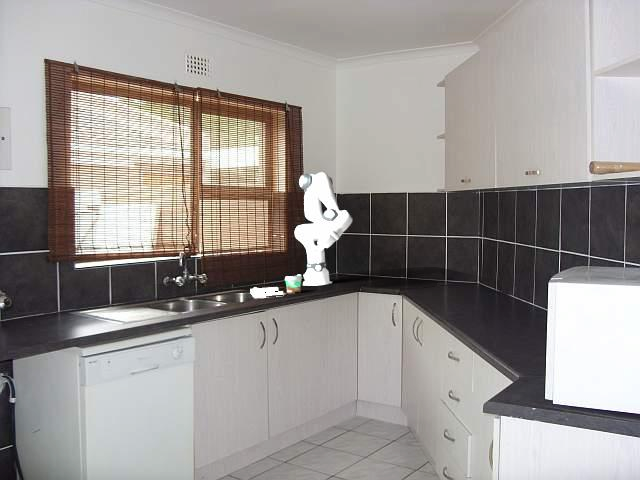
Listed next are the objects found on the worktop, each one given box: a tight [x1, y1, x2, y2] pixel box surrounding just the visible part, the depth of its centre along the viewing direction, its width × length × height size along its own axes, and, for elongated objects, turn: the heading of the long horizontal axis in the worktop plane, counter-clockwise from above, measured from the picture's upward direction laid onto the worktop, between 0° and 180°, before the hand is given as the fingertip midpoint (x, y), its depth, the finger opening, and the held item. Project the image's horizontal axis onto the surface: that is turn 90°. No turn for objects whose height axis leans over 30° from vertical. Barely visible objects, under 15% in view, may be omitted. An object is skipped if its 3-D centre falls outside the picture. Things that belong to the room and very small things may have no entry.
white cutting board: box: [250, 286, 284, 299], centre depth 375 cm, size 23×16×3 cm
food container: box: [284, 274, 303, 294], centre depth 378 cm, size 12×6×10 cm, turn 143°
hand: (316, 251), depth 380 cm, fingers open, 5 cm apart
